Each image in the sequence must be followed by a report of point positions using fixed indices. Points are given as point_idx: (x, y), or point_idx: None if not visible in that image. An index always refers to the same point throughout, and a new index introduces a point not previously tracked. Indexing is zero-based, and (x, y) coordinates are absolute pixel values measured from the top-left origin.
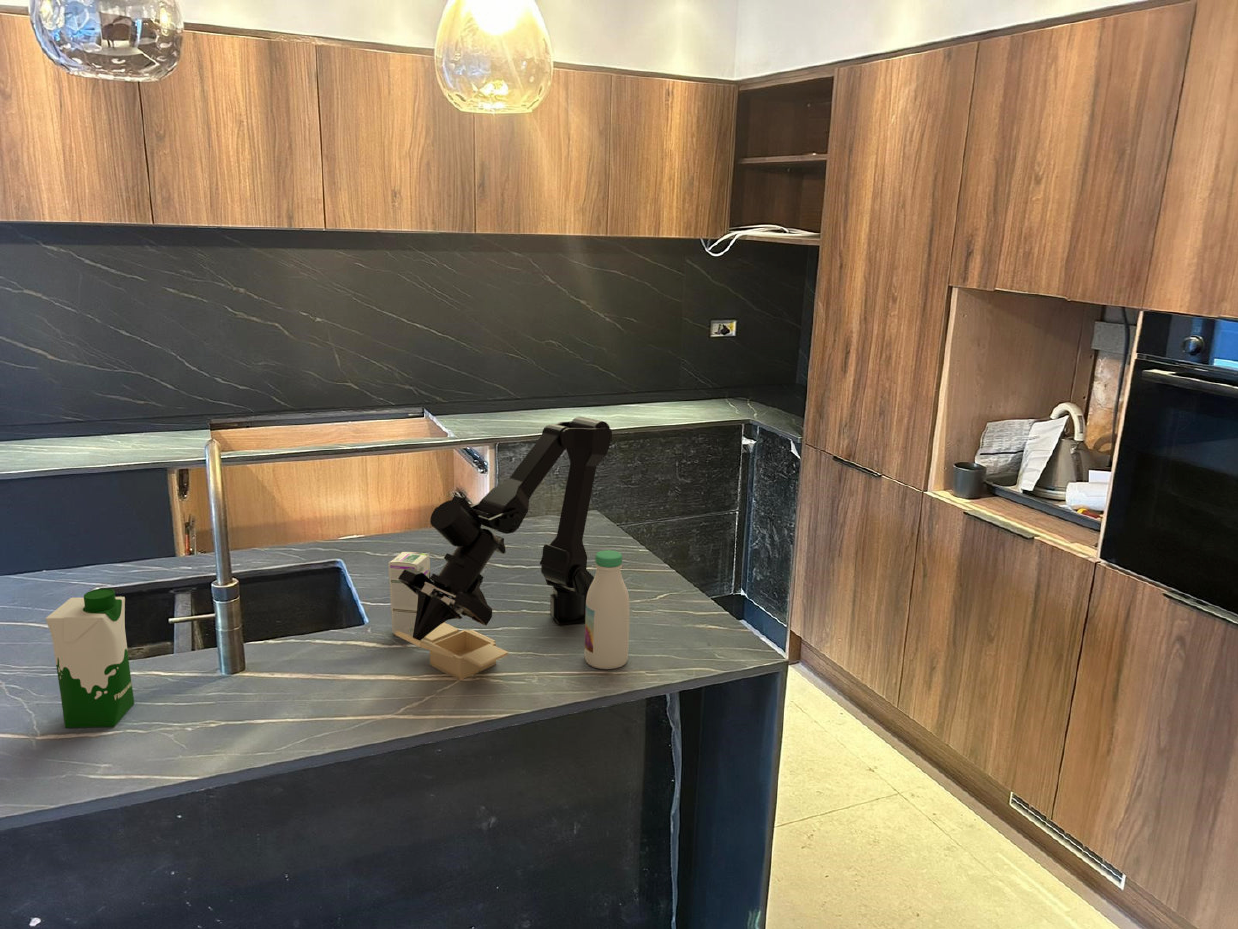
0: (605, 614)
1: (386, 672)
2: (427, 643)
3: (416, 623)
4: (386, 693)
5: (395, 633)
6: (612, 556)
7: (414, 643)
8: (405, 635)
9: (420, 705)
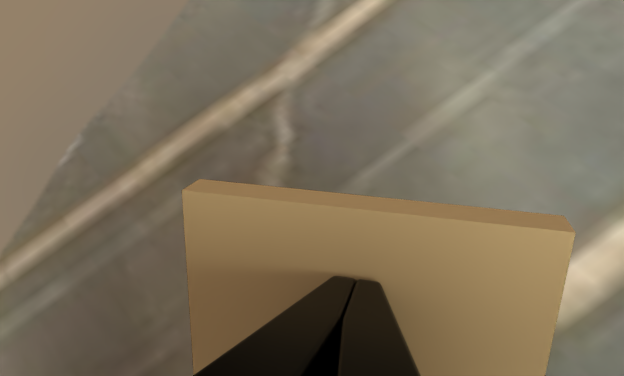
0: None
1: (619, 320)
2: None
3: (374, 348)
4: (436, 174)
5: (564, 220)
6: None
7: (260, 186)
8: (410, 213)
9: None
